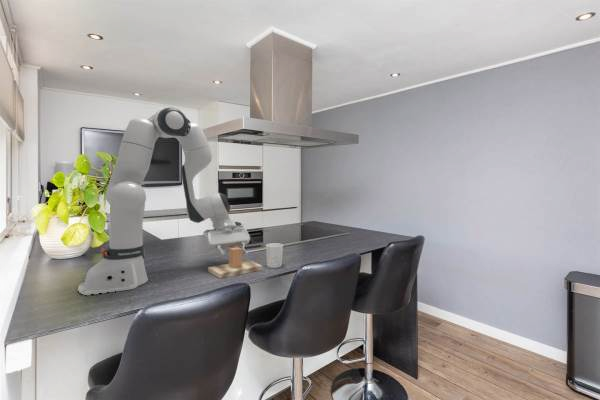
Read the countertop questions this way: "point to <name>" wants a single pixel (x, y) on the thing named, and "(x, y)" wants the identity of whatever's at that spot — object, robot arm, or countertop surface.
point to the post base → (234, 269)
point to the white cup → (274, 255)
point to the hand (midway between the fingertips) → (233, 253)
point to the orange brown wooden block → (235, 257)
